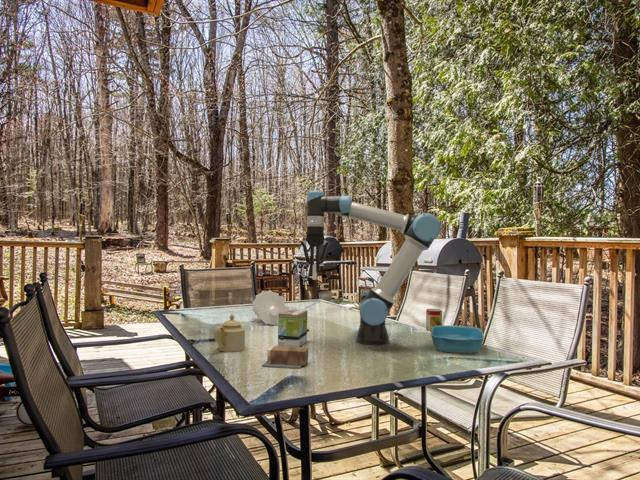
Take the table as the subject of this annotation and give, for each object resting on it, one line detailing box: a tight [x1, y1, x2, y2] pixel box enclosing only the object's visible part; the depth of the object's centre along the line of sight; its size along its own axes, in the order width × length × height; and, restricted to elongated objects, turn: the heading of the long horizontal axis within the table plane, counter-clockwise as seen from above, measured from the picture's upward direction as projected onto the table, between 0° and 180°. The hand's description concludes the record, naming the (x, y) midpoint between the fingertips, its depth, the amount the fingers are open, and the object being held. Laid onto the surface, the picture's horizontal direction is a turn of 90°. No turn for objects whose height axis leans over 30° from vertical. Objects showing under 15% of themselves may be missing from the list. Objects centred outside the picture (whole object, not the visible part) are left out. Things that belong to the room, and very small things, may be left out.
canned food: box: [425, 308, 443, 332], centre depth 242 cm, size 8×8×12 cm
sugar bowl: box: [213, 313, 246, 353], centre depth 198 cm, size 15×11×15 cm
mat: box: [261, 361, 303, 370], centre depth 177 cm, size 14×12×1 cm
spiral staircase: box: [252, 289, 290, 326], centre depth 268 cm, size 18×18×25 cm
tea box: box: [277, 309, 308, 347], centre depth 212 cm, size 15×10×15 cm, turn 168°
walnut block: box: [266, 345, 309, 367], centre depth 177 cm, size 5×7×14 cm
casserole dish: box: [430, 324, 485, 354], centre depth 211 cm, size 37×22×7 cm, turn 165°
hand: (314, 279), depth 208 cm, fingers closed
